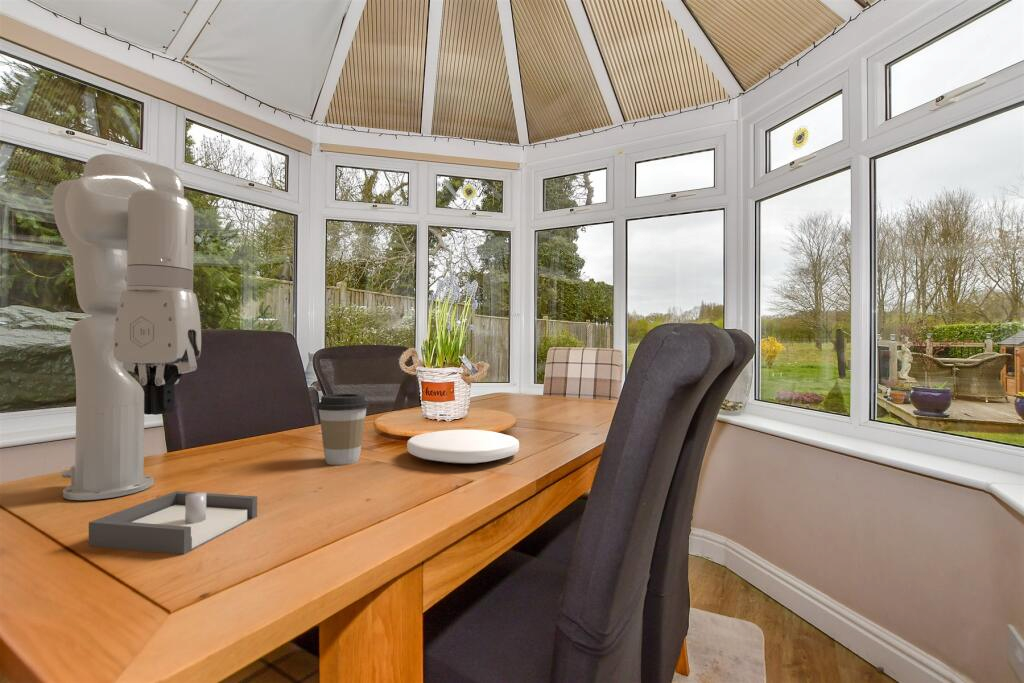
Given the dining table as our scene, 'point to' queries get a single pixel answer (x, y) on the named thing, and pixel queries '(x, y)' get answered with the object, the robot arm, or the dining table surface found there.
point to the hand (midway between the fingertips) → (159, 413)
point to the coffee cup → (342, 427)
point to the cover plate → (201, 528)
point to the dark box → (159, 537)
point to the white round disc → (463, 446)
